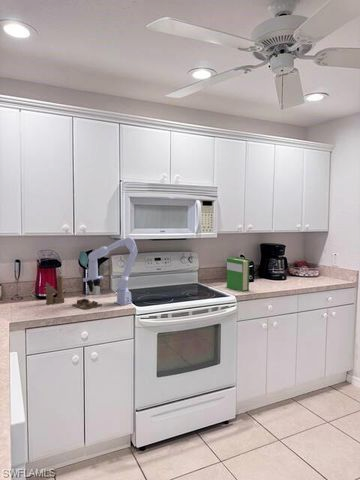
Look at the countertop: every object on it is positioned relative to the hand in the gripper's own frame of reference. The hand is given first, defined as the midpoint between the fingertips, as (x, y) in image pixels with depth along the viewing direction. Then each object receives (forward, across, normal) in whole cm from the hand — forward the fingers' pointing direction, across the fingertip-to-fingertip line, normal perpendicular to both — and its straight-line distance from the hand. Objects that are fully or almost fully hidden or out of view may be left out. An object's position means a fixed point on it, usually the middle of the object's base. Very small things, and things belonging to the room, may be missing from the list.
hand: (93, 291), depth 228 cm
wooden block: (+9, +16, -20) cm, 27 cm away
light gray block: (+2, 0, 0) cm, 2 cm away
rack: (+8, +6, +2) cm, 10 cm away
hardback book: (+9, -103, +48) cm, 114 cm away
